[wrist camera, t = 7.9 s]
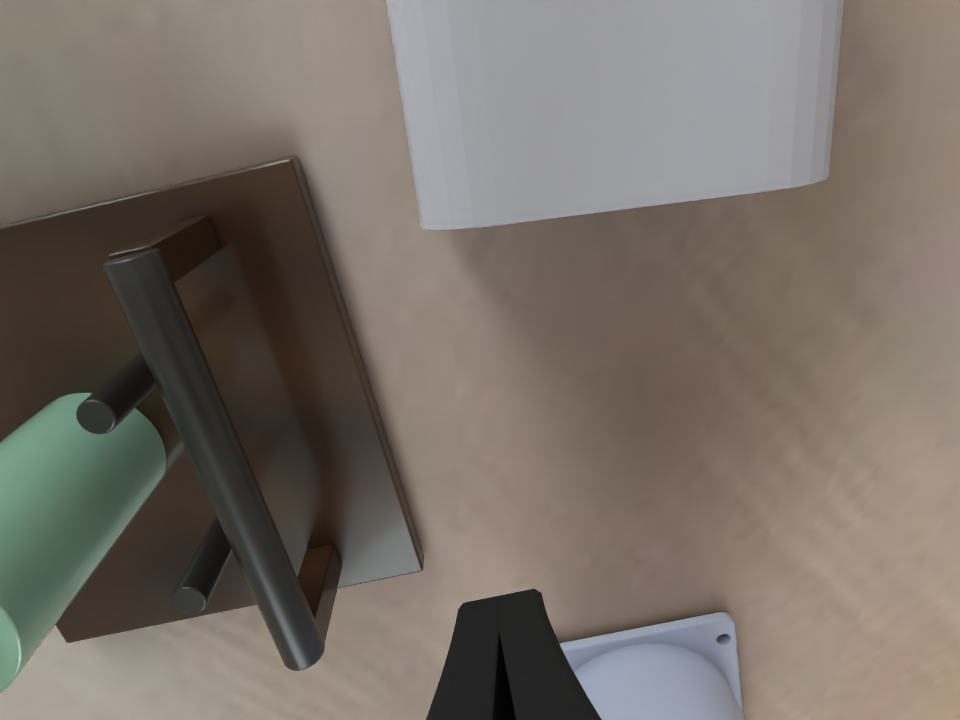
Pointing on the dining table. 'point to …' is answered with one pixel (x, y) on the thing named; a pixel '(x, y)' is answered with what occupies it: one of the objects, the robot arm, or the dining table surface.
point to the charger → (610, 102)
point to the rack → (211, 400)
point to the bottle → (64, 514)
